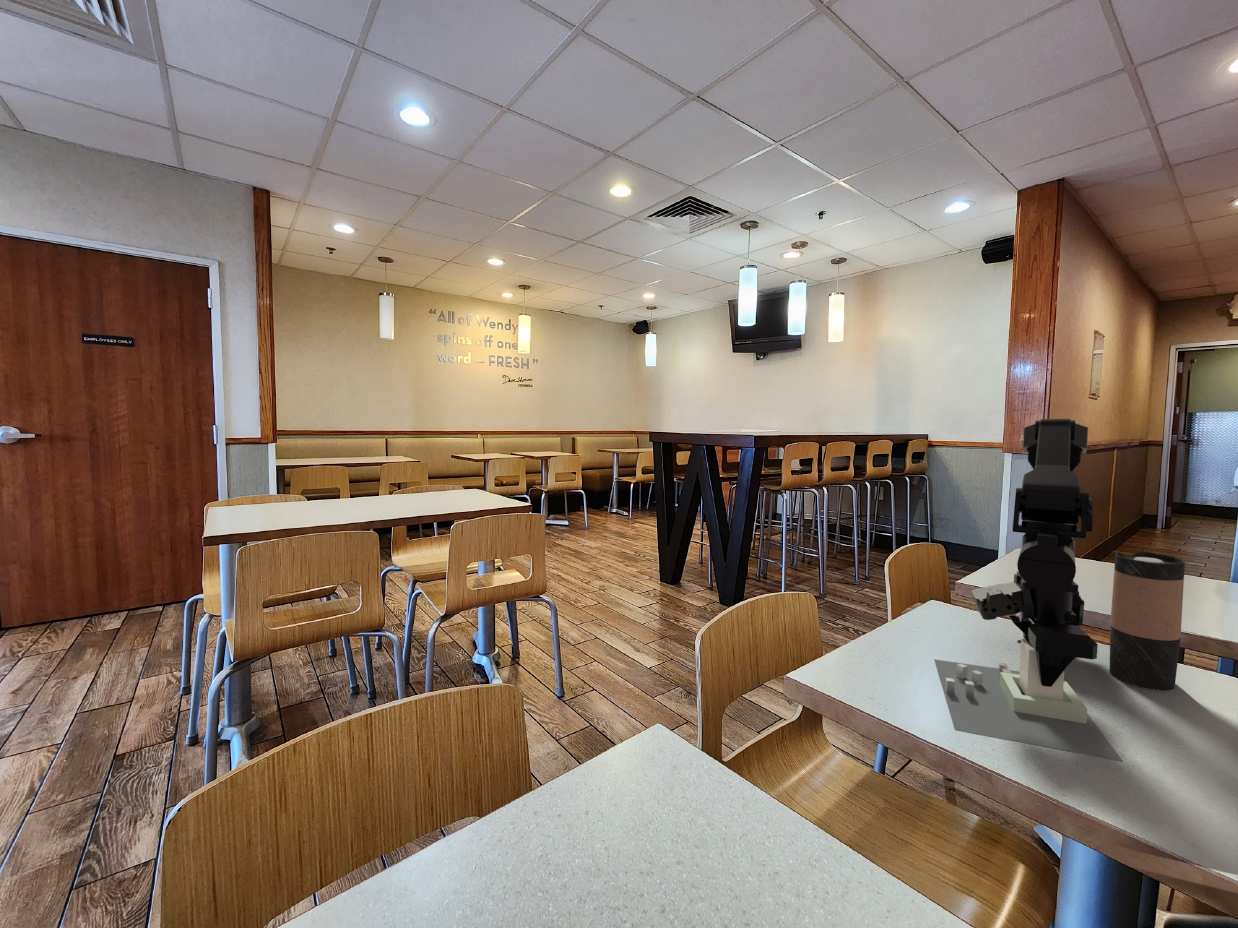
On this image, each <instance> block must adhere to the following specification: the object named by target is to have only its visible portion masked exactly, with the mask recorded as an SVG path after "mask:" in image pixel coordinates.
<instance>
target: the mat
mask: <svg viewBox="0 0 1238 928" xmlns="http://www.w3.org/2000/svg"><path fill="white" fill-rule="evenodd" d="M934 663H935V667H936V671H937V674H938V678H939V680H940V685H941V688H942V690H943V691H942V692H943V694H944V699H945V701H946V704H947V707H948V711H949V714H950V715H949V716H950V718H951V721H952V725H953V728H954V731H957V732H964V733H969V734H975V735H980V736H984V737H989V738H995V739H999V740H1005V741H1011V742H1017V743H1022V744H1027V745H1033V746H1039V747H1043V748H1047V749H1053V750H1060V751H1064V752H1070V753H1074V754H1080V755H1086V756H1092V757H1097V758H1101V759H1107V760H1113V761H1116V762H1117V761H1118V762H1124V760H1123V759H1122V757H1121V756H1120V755H1119V753H1118V752H1117V751H1116V749H1115V748H1114V747H1113V745H1112V744H1111V743H1110V741H1109V740H1108V739H1107V737H1106V736H1105V734H1104V733H1103V732H1102V731H1101V729H1100V728H1099V726H1098V725H1097V724H1096V723H1095V721H1094V720H1093V719H1092V718H1091V716H1090V715H1089V713H1088V712H1087V724H1086V723H1080V722H1074V721H1068V720H1062V719H1056V718H1050V717H1044V716H1038V715H1032V714H1027V713H1021V712H1015V711H1013V710H1012V708H1011V706H1010V704H1009V702H1008V700H1007V698H1006V696H1005V694H1004V692H1003V690H1002V688H1001V686H1000V677H999V675H998V667H992V666H983V665H976V664H970V663H964V662H956V661H955V662H954V661H947V660H943V659H942V660H941V659H935V658H934ZM958 664H964V665H966V666H968V670H967V679H964V680H962V679H960V678H958V677H957V665H958ZM975 670H977V671H980V672H982V673H983V684H982V686H980V687H977V686H975V685H974V698H970V697H966V696H965V694H964V693H965V681H972V671H975ZM1009 670H1010V671H1011V672H1012V674H1018V675H1020V670H1011V669H1009ZM946 678H952V679H954V681H955V694H954V695H951V694H946ZM1020 692H1021V694H1022V695H1025V694H1024V692H1023V691H1020Z"/></svg>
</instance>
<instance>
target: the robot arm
mask: <svg viewBox="0 0 1238 928" xmlns="http://www.w3.org/2000/svg"><path fill="white" fill-rule="evenodd" d="M1088 436H1089V427H1088V426H1084V425H1082V424H1080V423H1076V419H1074V420H1073V419H1070V418H1041V419H1039V420H1035V423H1034V424H1030V425H1028V426H1025V427H1024V428H1023V440H1022V450H1023V451H1022V452H1023V453H1027V462H1028V463H1029V465H1030V466H1031V468H1032V470H1030V471H1028V472H1026V473H1024V474H1023V479H1022V484H1021V485H1022V486H1021V487H1016V488H1015V498H1014V506H1013V519H1012V532H1013V533H1023V535H1022V536H1021V537H1022V538H1021V539H1022V540H1021V541H1022V542H1021V549H1020V551H1019V555H1018V558H1017V562H1016V563H1017V564H1016V565H1017V571H1016V573H1014V575H1013V582H1008V583H997V584H994V585H988V586H984V587H979V588H975V589H972V590H971V591H970V592H971V595H972V599H973V600H974V604H975V605H976V608H977V611H978V613H979V614H980V617H981V618H982V620H986V621H992V620H996V619H997V618H1000V617H1007V616H1008V617H1009V619H1010V620H1011V622H1012V623H1013V624H1014V625H1015V626H1016V627H1017V628H1018V629H1019V630H1020V631H1021V632H1022V637H1023V639H1025V640H1026V641H1027V643H1028V644H1029V645H1030V646H1031V647H1033V648H1034V649H1035V651H1036V657H1037V663H1038V670H1039V676H1040V682H1041V684H1042V686H1047V687H1051V686H1052V685H1053V684H1054V683H1055V681H1056V680H1057V679H1058V678H1059V676H1060V675H1061V674H1062V673H1063V671H1064V672H1065V671H1066V669H1067V668H1068V667H1069V665H1070V664H1071V663H1072V662H1073V661H1074V660H1075V659H1076V658H1078V659H1086V660H1096V659H1097V658H1098V643H1097V642H1096V640H1094V639H1093V638H1092V637H1091V636H1090V635H1089V634H1088V633H1087V632H1086V631H1085V630H1084V629H1083V628H1081V626H1084V625H1083V624H1084V610H1085V600H1084V599H1082V598H1081V597H1082V596H1081V595H1080V591H1079V584H1077V583H1076V582H1075V580H1074V579H1075V576H1076V573H1077V566H1076V557H1075V550H1076V541H1075V540H1076V539H1084V540H1086V539H1087V532H1088V533H1090V532H1091V533H1092V532H1093V517H1094V515H1093V511H1094V510H1093V509H1094V508H1093V506H1094V505H1093V503H1094V502H1093V499H1091V498H1090V494H1089V493H1088V491H1085V490H1084V491H1083V490H1081V476H1079V475H1078V474H1076V473H1074V471H1075V470H1076V469H1077V467H1078V466H1079V465H1080V463H1081V459H1082V458H1081V457H1082V454H1087V453H1088V452H1087V450H1088V442H1089V441H1088V439H1089V438H1088ZM1020 520H1021V524H1019V523H1020ZM1079 520H1080V521H1079ZM1079 522H1080V525H1079V527H1080V529H1078V524H1079ZM1017 644H1021V639H1018V640H1017Z"/></svg>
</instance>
